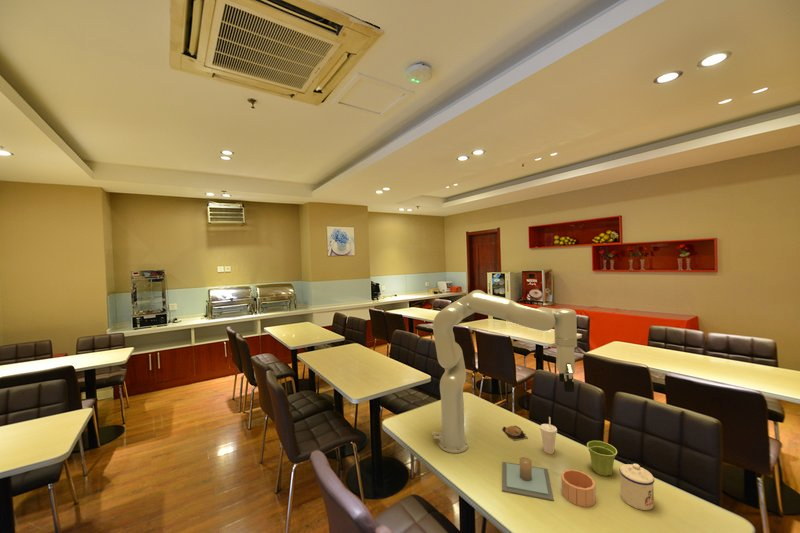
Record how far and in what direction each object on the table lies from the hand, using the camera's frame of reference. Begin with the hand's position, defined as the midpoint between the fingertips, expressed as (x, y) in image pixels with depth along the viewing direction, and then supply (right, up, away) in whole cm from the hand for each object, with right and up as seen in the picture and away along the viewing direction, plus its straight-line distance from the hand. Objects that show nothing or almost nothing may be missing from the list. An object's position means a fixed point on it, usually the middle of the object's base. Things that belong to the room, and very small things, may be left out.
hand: (566, 386), depth 122 cm
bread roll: (-12, -31, +23) cm, 40 cm away
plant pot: (+11, -30, -4) cm, 32 cm away
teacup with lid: (+14, -30, -17) cm, 38 cm away
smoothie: (-2, -30, +9) cm, 32 cm away
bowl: (-4, -30, -15) cm, 34 cm away
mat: (-18, -31, -8) cm, 37 cm away
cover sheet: (-18, -30, -8) cm, 36 cm away
